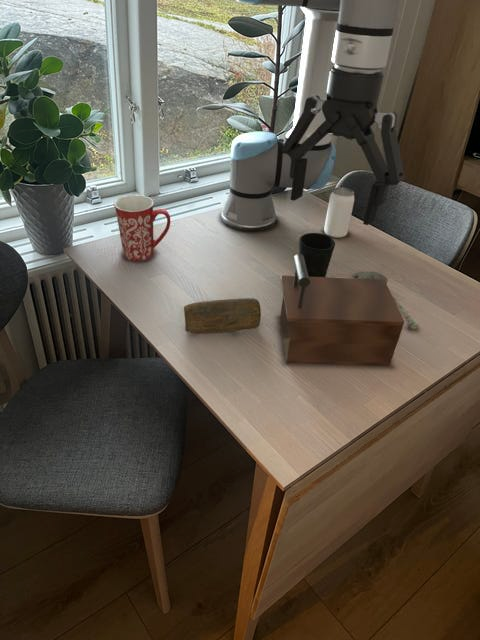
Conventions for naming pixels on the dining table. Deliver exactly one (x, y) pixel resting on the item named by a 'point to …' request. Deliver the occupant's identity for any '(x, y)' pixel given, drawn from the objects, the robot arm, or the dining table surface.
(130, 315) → the dining table surface
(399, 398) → the dining table surface
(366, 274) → the soupspoon
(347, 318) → the lid
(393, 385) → the dining table surface
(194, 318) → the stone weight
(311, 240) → the cup
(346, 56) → the robot arm
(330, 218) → the can
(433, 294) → the dining table surface
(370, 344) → the chest
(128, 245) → the mug
